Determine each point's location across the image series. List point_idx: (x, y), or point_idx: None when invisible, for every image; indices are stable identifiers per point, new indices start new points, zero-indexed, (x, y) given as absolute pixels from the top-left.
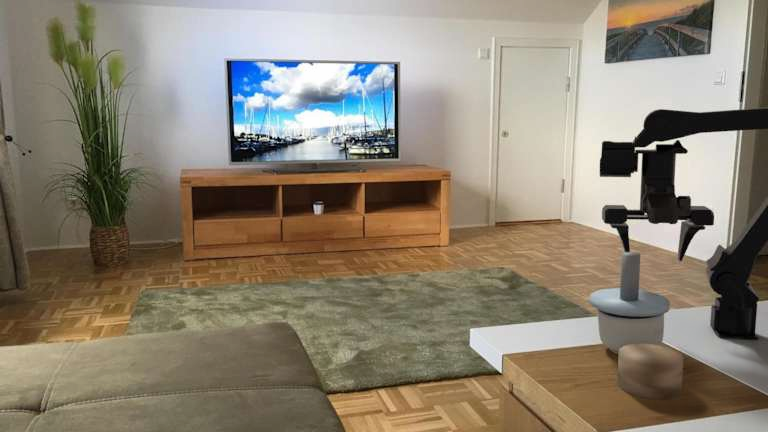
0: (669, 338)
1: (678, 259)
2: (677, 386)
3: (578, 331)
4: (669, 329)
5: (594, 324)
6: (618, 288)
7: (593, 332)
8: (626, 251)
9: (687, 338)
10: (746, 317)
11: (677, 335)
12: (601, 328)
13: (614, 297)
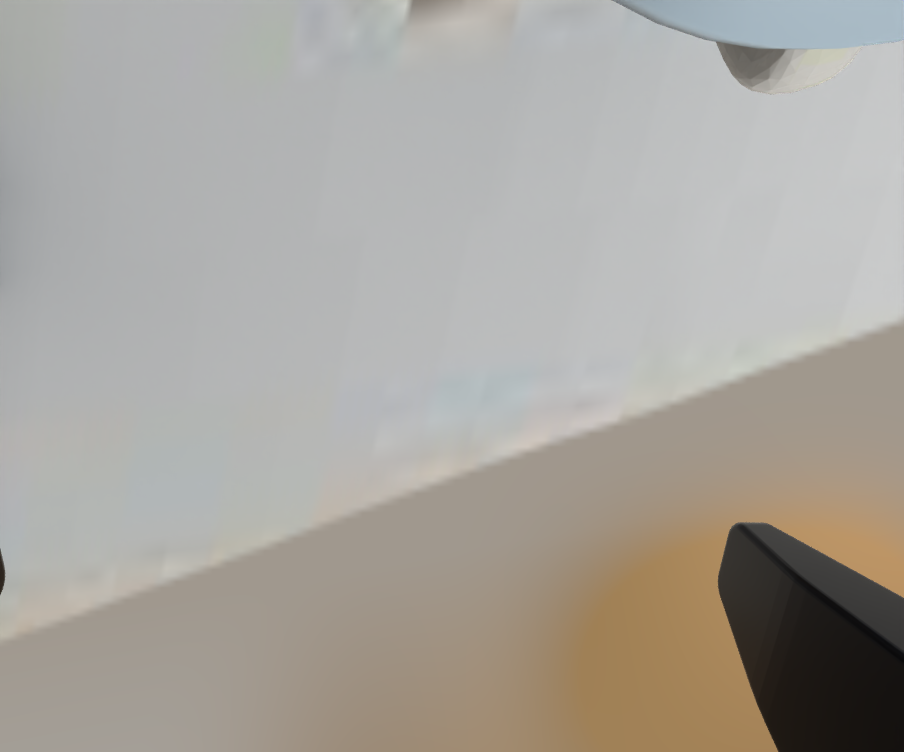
0: (312, 9)
1: (1, 573)
2: None
3: (899, 99)
4: (280, 206)
5: (747, 254)
6: (861, 38)
7: None
8: (866, 582)
9: (184, 22)
10: None
11: (245, 83)
12: None
13: None
